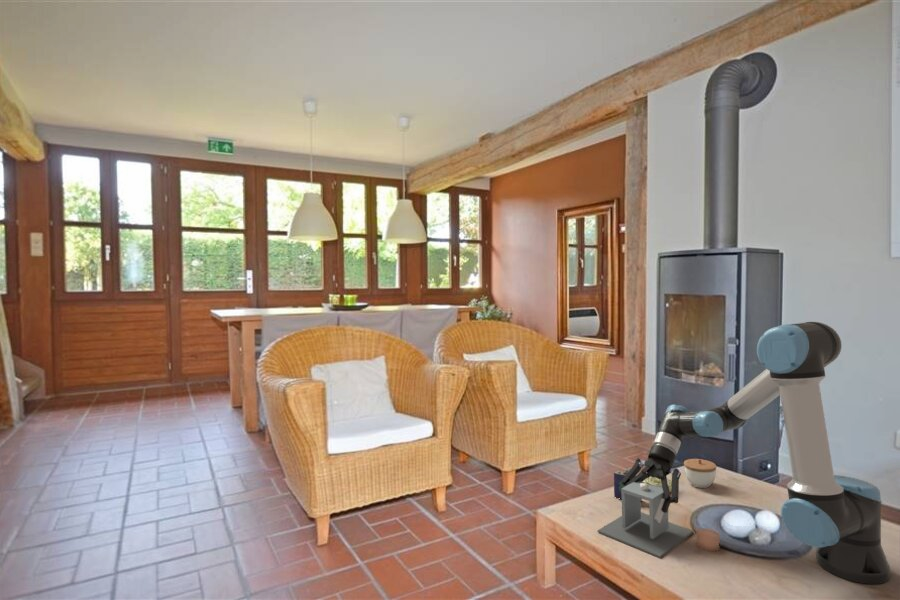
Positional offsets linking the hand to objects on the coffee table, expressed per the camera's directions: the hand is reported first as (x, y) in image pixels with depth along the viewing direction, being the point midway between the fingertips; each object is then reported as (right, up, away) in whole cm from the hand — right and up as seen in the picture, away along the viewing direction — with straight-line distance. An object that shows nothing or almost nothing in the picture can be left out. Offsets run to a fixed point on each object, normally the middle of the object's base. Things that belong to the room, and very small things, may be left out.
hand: (639, 514), depth 153 cm
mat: (+3, -6, +2) cm, 7 cm away
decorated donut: (+19, -5, +31) cm, 37 cm away
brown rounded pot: (+17, -6, -6) cm, 20 cm away
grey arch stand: (+3, -5, +2) cm, 6 cm away
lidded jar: (+35, -4, +35) cm, 50 cm away
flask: (+5, -5, +25) cm, 26 cm away
